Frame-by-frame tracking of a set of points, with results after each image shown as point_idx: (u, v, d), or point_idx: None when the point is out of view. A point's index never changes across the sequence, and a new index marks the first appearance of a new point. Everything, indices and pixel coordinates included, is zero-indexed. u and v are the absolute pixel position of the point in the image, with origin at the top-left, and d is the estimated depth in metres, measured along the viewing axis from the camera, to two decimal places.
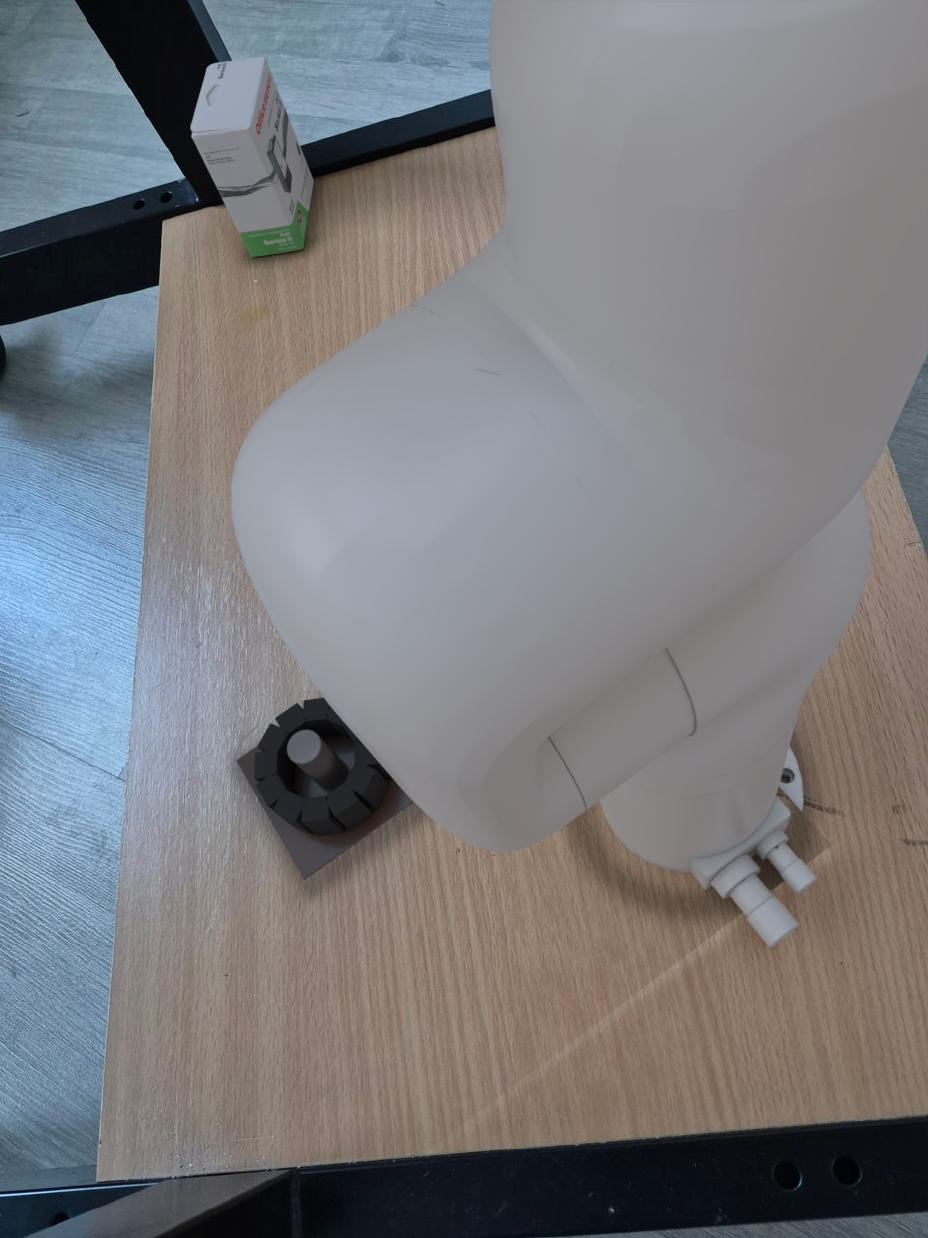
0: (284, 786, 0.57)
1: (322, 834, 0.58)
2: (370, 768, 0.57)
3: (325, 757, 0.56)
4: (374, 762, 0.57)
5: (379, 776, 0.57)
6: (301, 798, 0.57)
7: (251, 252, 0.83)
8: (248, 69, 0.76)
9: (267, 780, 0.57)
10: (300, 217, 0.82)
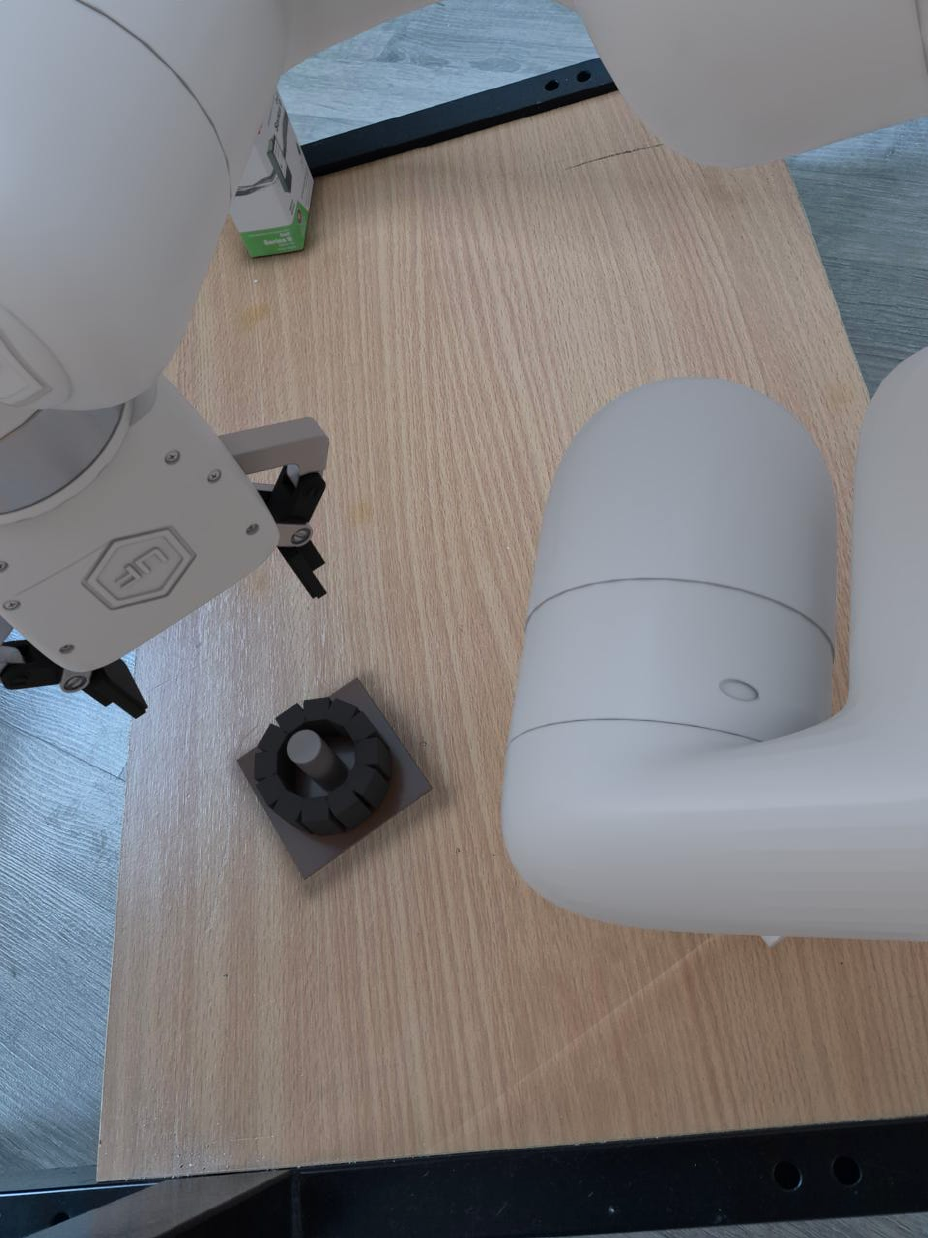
0: (284, 786, 0.57)
1: (322, 834, 0.58)
2: (370, 768, 0.57)
3: (325, 757, 0.56)
4: (374, 762, 0.57)
5: (379, 776, 0.57)
6: (301, 798, 0.57)
7: (251, 252, 0.83)
8: None
9: (267, 780, 0.57)
10: (300, 217, 0.82)
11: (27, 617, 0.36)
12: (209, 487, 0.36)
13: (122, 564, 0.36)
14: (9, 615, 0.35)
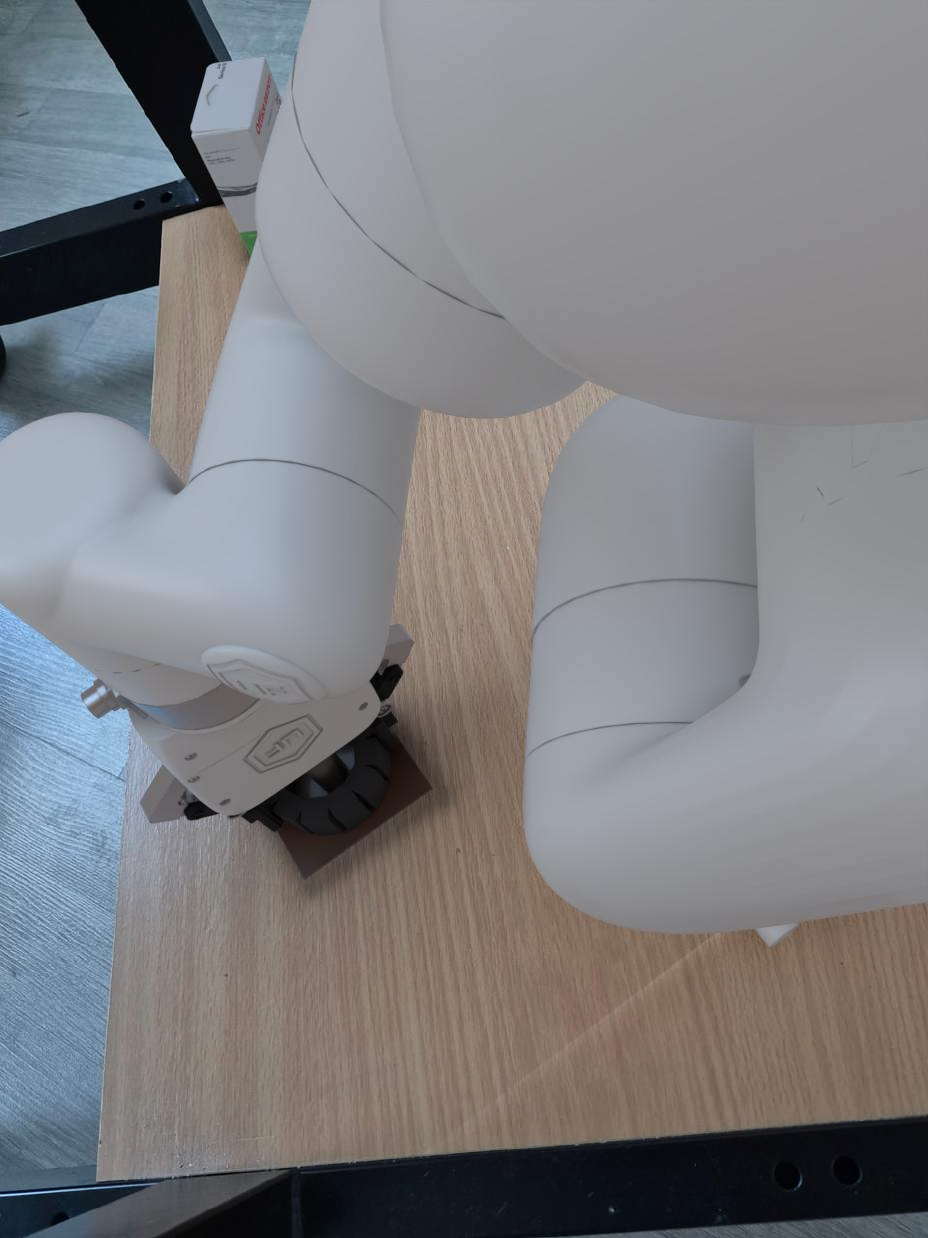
0: None
1: (322, 834, 0.58)
2: (370, 768, 0.57)
3: None
4: (374, 763, 0.57)
5: (379, 776, 0.57)
6: (301, 798, 0.57)
7: (251, 252, 0.83)
8: (248, 69, 0.76)
9: None
10: None
11: (202, 785, 0.47)
12: None
13: (272, 743, 0.48)
14: (191, 785, 0.47)
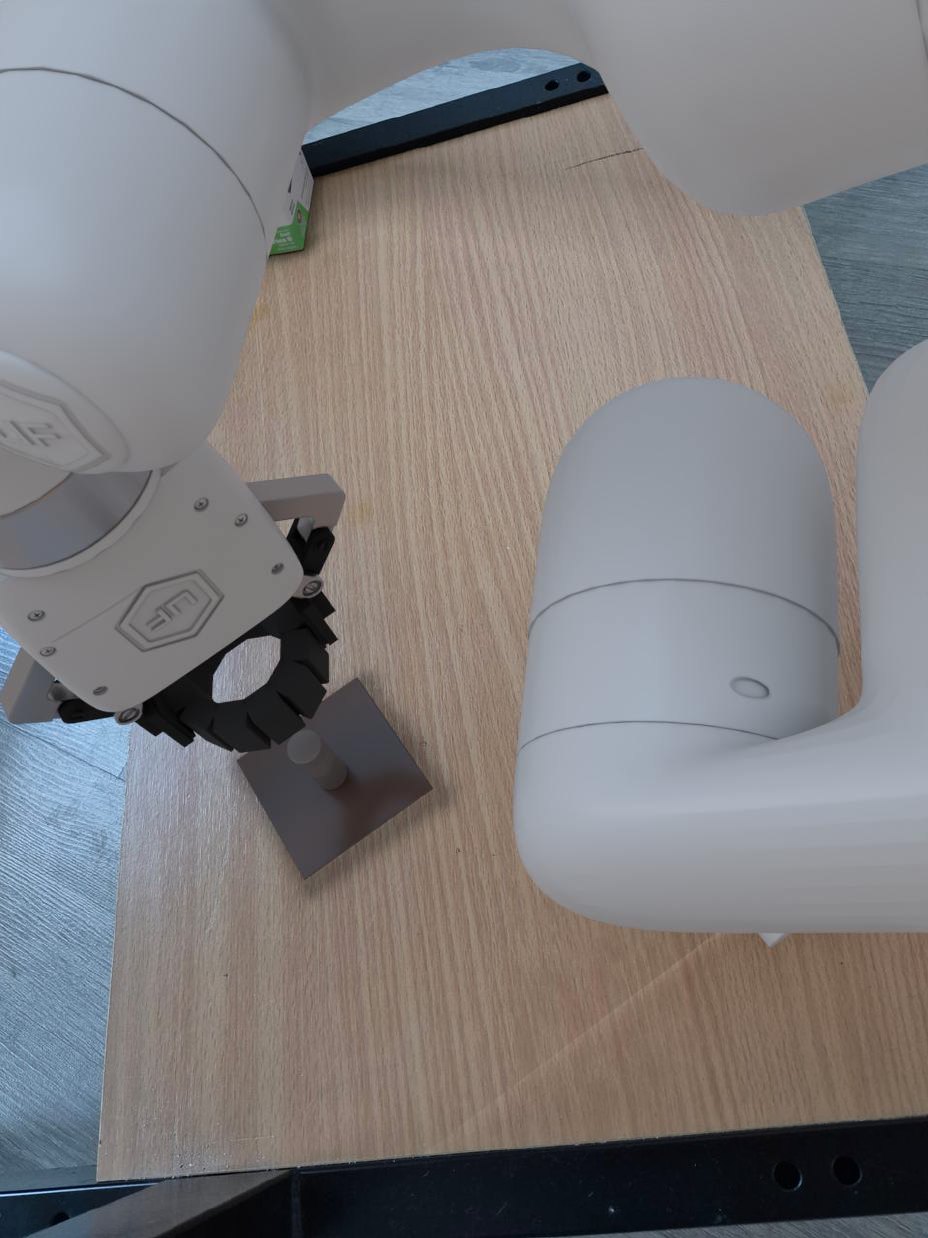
0: (194, 689, 0.46)
1: (243, 750, 0.47)
2: (299, 664, 0.46)
3: (325, 757, 0.56)
4: (304, 657, 0.46)
5: (311, 675, 0.46)
6: (214, 703, 0.46)
7: None
8: None
9: (173, 683, 0.47)
10: (300, 217, 0.82)
11: (63, 662, 0.37)
12: (236, 531, 0.37)
13: (153, 608, 0.37)
14: (45, 660, 0.36)
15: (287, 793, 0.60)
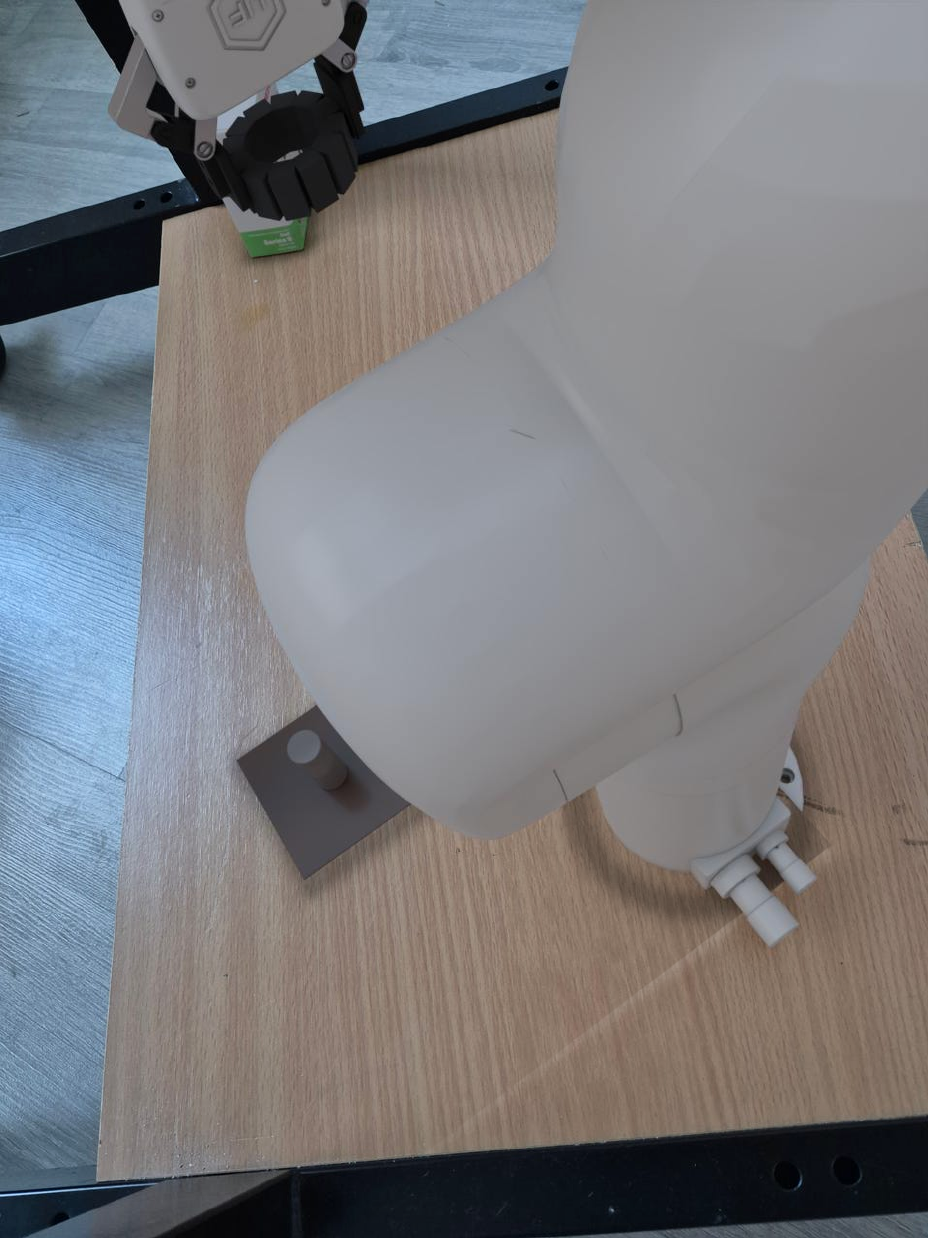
0: (251, 158, 0.58)
1: (289, 216, 0.59)
2: (335, 134, 0.58)
3: (325, 757, 0.56)
4: (339, 129, 0.58)
5: (344, 147, 0.58)
6: (268, 163, 0.58)
7: (251, 252, 0.83)
8: None
9: (234, 155, 0.58)
10: None
11: (167, 33, 0.48)
12: None
13: None
14: (155, 26, 0.48)
15: (287, 793, 0.60)
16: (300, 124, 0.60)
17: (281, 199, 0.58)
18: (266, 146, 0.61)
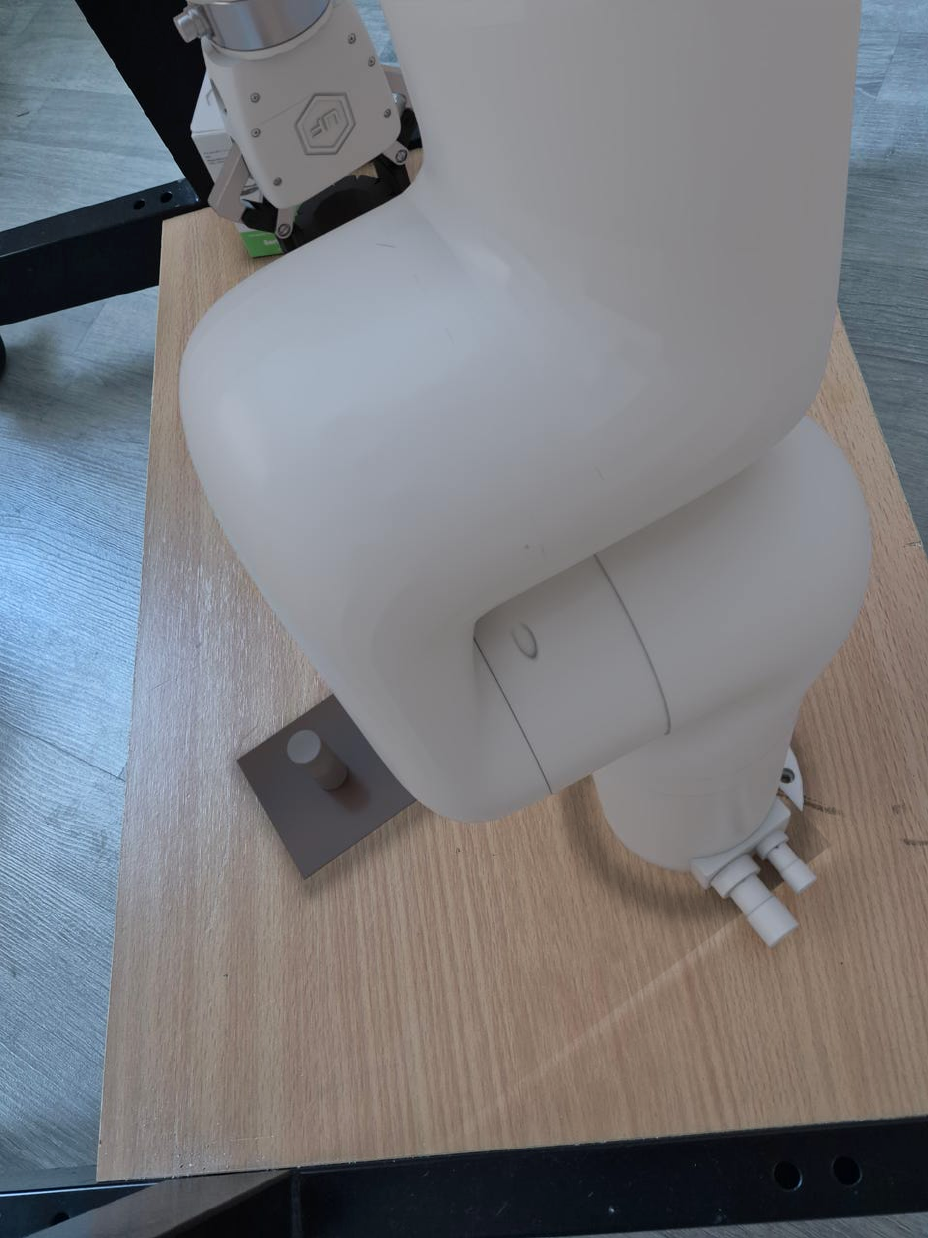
0: (319, 233, 0.70)
1: None
2: None
3: (325, 757, 0.56)
4: None
5: None
6: None
7: (251, 252, 0.83)
8: None
9: (305, 230, 0.70)
10: None
11: (262, 145, 0.60)
12: (368, 69, 0.60)
13: (316, 117, 0.61)
14: (253, 141, 0.60)
15: (287, 793, 0.60)
16: (358, 202, 0.72)
17: None
18: (329, 220, 0.73)
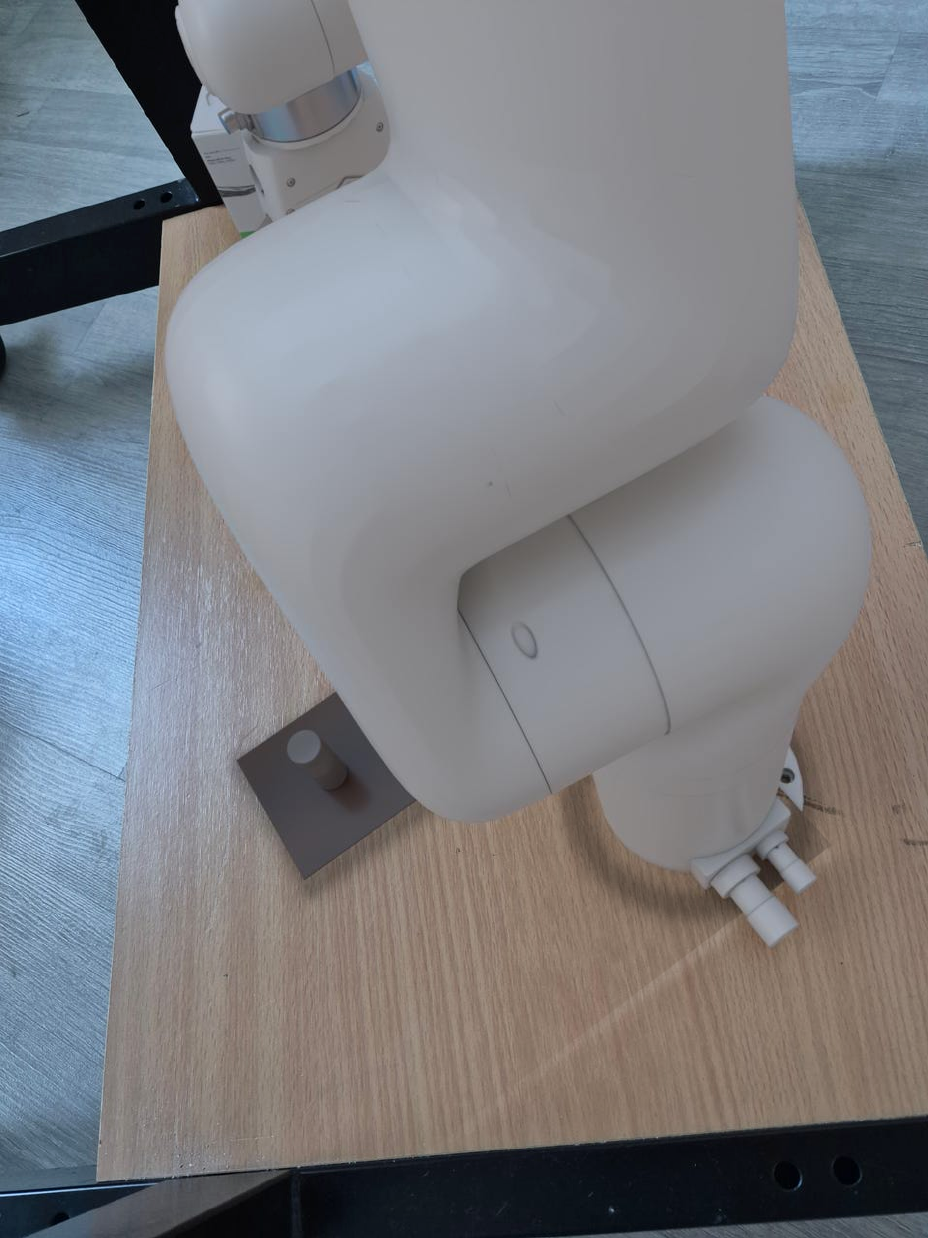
0: None
1: None
2: None
3: (325, 757, 0.56)
4: None
5: None
6: None
7: None
8: None
9: None
10: None
11: None
12: None
13: None
14: None
15: (287, 793, 0.60)
16: None
17: None
18: None
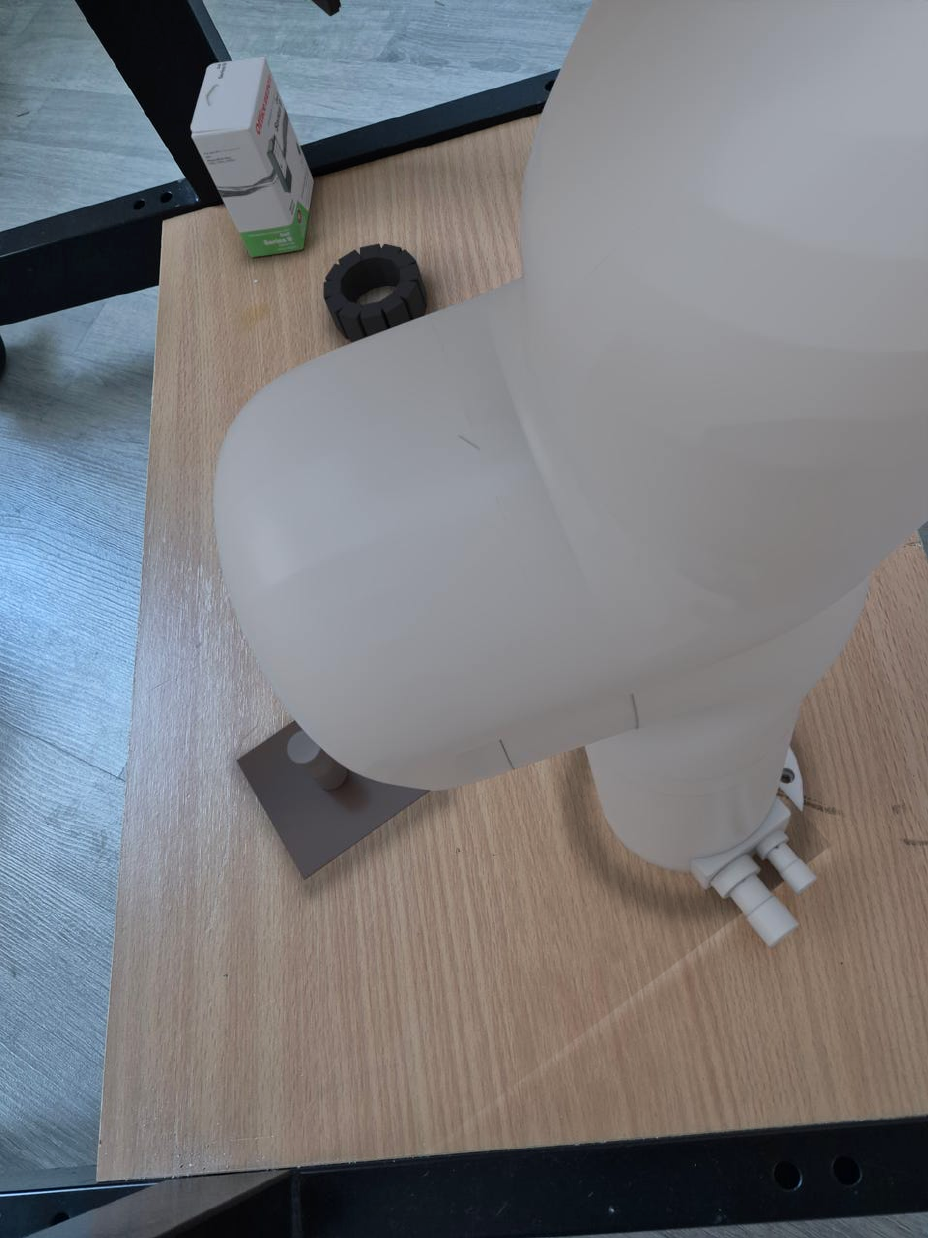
0: (346, 299, 0.75)
1: None
2: (412, 282, 0.75)
3: (325, 757, 0.56)
4: (415, 278, 0.75)
5: (418, 291, 0.75)
6: (360, 304, 0.75)
7: (251, 252, 0.83)
8: (248, 69, 0.76)
9: (333, 296, 0.76)
10: (300, 217, 0.82)
11: None
12: None
13: None
14: None
15: (287, 793, 0.60)
16: (382, 269, 0.78)
17: (369, 331, 0.75)
18: (355, 285, 0.78)
